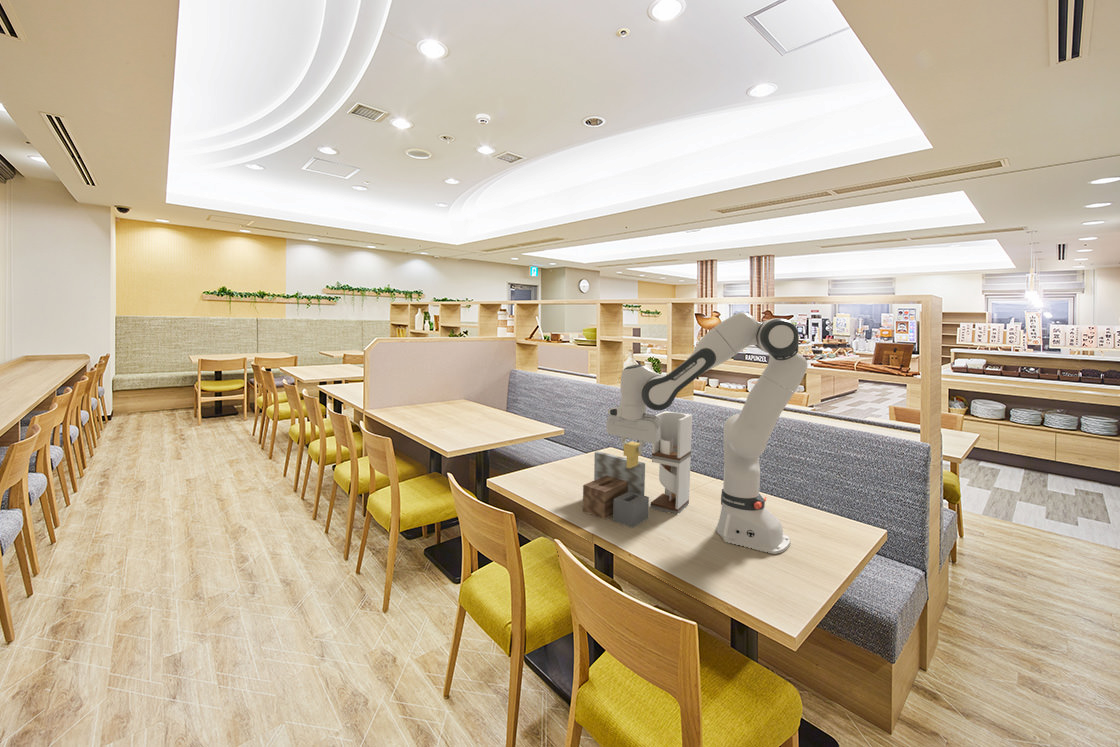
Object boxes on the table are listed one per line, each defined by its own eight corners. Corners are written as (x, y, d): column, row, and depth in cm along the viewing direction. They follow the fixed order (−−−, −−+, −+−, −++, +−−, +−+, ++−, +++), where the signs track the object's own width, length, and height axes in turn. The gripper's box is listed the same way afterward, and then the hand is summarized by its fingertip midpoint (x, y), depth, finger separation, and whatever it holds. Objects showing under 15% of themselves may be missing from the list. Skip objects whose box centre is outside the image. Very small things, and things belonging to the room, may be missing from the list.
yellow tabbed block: (641, 465, 165) (641, 443, 164) (633, 469, 161) (633, 446, 160) (631, 463, 168) (632, 441, 167) (623, 466, 164) (623, 444, 163)
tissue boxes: (643, 510, 175) (645, 463, 173) (618, 524, 163) (619, 474, 161) (597, 494, 190) (597, 451, 188) (570, 506, 178) (571, 460, 176)
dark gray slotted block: (648, 518, 168) (648, 496, 167) (632, 527, 161) (632, 505, 160) (629, 512, 173) (629, 491, 172) (613, 520, 166) (613, 498, 165)
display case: (662, 498, 187) (665, 411, 182) (688, 504, 181) (692, 414, 176) (650, 507, 177) (653, 416, 173) (677, 514, 171) (681, 420, 167)
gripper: (664, 414, 157) (663, 454, 159) (614, 406, 171) (614, 443, 173) (654, 417, 153) (653, 459, 155) (604, 409, 167) (603, 447, 168)
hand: (632, 451), depth 164 cm, fingers closed on yellow tabbed block, 4 cm apart
